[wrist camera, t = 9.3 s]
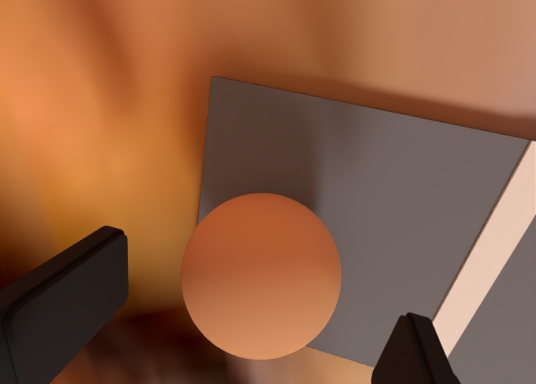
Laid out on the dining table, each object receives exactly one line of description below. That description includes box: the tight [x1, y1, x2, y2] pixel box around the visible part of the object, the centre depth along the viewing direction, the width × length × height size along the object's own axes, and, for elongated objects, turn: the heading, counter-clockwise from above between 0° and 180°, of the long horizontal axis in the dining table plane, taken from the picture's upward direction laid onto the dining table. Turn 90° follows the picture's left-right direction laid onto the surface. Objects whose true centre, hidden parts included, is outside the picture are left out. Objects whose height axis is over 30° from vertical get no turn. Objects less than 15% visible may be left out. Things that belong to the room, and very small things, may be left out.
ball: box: [181, 193, 341, 360], centre depth 11 cm, size 6×6×6 cm
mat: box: [198, 76, 536, 384], centre depth 13 cm, size 30×13×1 cm, turn 80°
